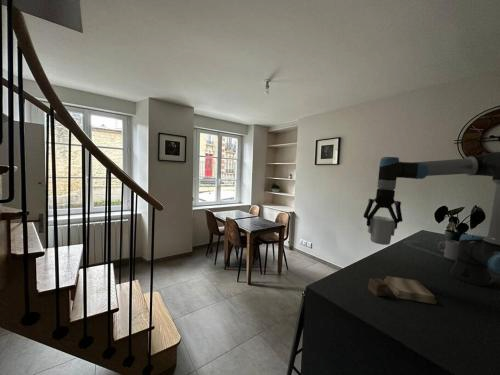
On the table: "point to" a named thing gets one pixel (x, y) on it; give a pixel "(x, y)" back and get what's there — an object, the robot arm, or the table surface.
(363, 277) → the table surface
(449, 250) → the mug
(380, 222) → the candle holder
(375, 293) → the walnut block
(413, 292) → the stand
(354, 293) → the table surface
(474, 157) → the robot arm
